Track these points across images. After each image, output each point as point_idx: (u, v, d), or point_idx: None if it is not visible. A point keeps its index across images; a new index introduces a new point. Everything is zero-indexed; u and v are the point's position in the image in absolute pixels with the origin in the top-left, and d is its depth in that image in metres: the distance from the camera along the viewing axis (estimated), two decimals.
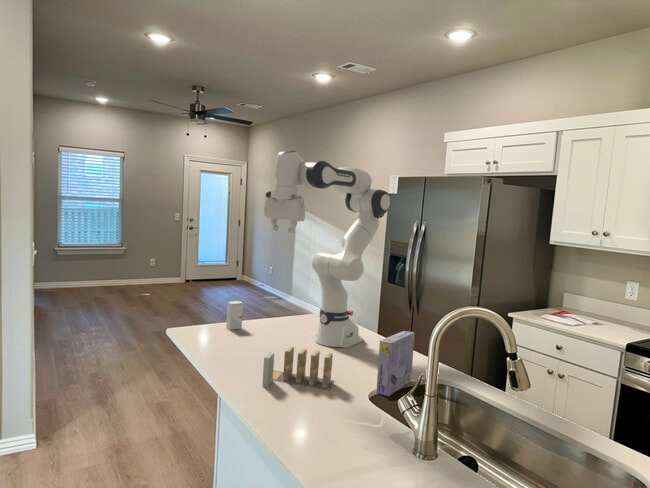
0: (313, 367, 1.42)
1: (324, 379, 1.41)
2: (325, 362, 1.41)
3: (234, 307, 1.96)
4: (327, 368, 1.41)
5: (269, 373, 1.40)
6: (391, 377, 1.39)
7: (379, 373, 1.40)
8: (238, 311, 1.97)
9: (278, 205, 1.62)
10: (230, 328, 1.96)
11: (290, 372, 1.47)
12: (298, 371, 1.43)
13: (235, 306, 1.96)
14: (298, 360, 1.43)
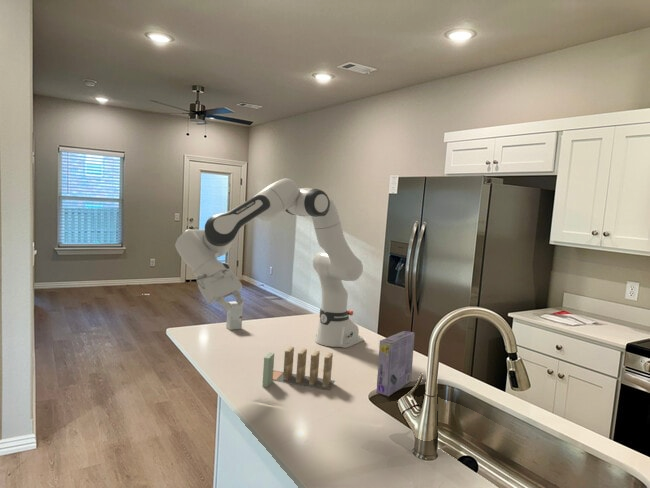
0: (313, 367, 1.42)
1: (324, 379, 1.41)
2: (325, 362, 1.41)
3: (234, 307, 1.96)
4: (327, 368, 1.41)
5: (269, 373, 1.40)
6: (391, 377, 1.39)
7: (379, 373, 1.40)
8: (238, 311, 1.97)
9: None
10: (230, 328, 1.96)
11: (290, 372, 1.47)
12: (298, 371, 1.43)
13: (235, 306, 1.96)
14: (298, 360, 1.43)
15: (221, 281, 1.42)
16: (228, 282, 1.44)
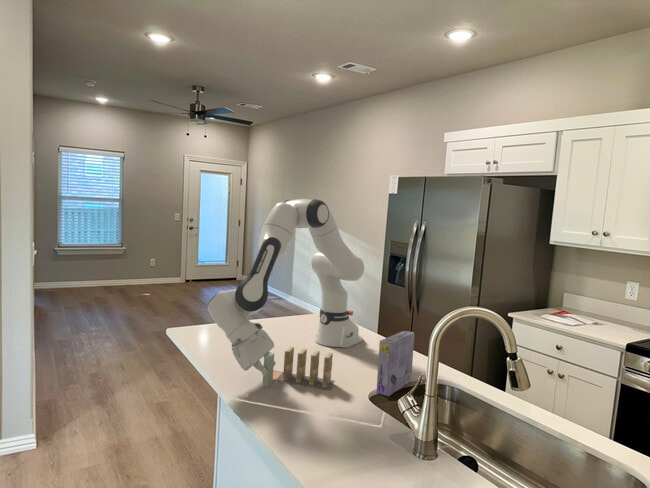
0: (313, 367, 1.42)
1: (324, 379, 1.41)
2: (325, 362, 1.41)
3: None
4: (327, 368, 1.41)
5: (269, 373, 1.40)
6: (391, 377, 1.39)
7: (379, 373, 1.40)
8: None
9: None
10: None
11: (290, 372, 1.47)
12: (298, 371, 1.43)
13: None
14: (298, 360, 1.43)
15: (255, 344, 1.40)
16: (261, 344, 1.43)
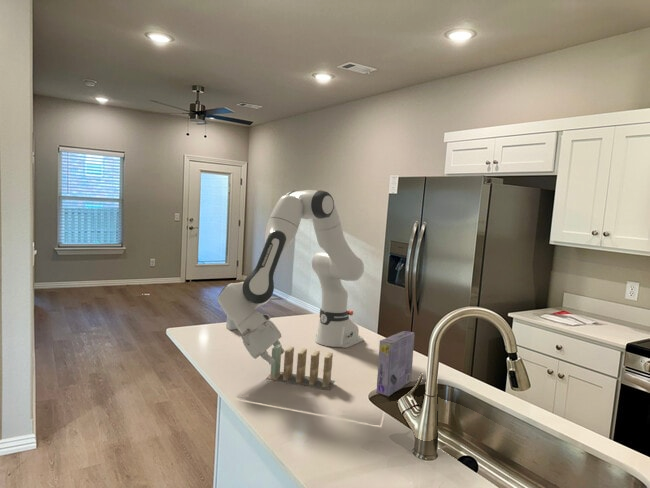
0: (313, 367, 1.42)
1: (324, 379, 1.41)
2: (325, 362, 1.41)
3: None
4: (327, 368, 1.41)
5: (277, 364, 1.46)
6: (391, 377, 1.39)
7: (379, 373, 1.40)
8: None
9: None
10: (230, 328, 1.96)
11: (290, 372, 1.47)
12: (298, 371, 1.43)
13: None
14: (298, 360, 1.43)
15: (263, 334, 1.47)
16: (269, 334, 1.50)
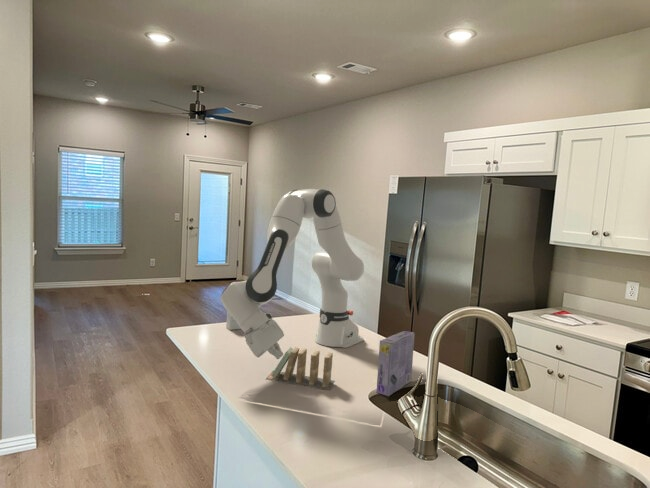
0: (313, 367, 1.42)
1: (324, 379, 1.41)
2: (325, 362, 1.41)
3: None
4: (327, 368, 1.41)
5: (283, 366, 1.46)
6: (391, 377, 1.39)
7: (379, 373, 1.40)
8: None
9: None
10: (230, 328, 1.96)
11: (291, 372, 1.47)
12: (298, 371, 1.43)
13: None
14: (298, 360, 1.43)
15: (266, 333, 1.47)
16: (272, 333, 1.50)
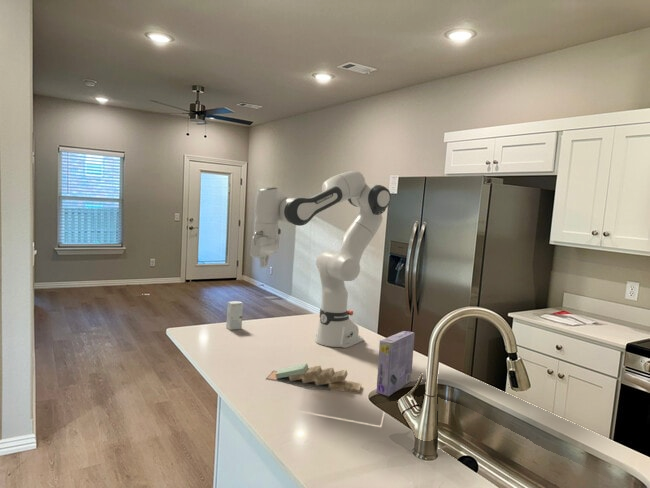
0: (332, 380, 1.41)
1: (336, 386, 1.40)
2: (353, 390, 1.39)
3: (234, 307, 1.96)
4: None
5: None
6: (391, 377, 1.39)
7: (379, 373, 1.40)
8: (238, 311, 1.97)
9: None
10: (230, 328, 1.96)
11: None
12: (312, 378, 1.42)
13: (235, 306, 1.96)
14: (323, 375, 1.41)
15: (268, 243, 1.63)
16: (271, 245, 1.66)
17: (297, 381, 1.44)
